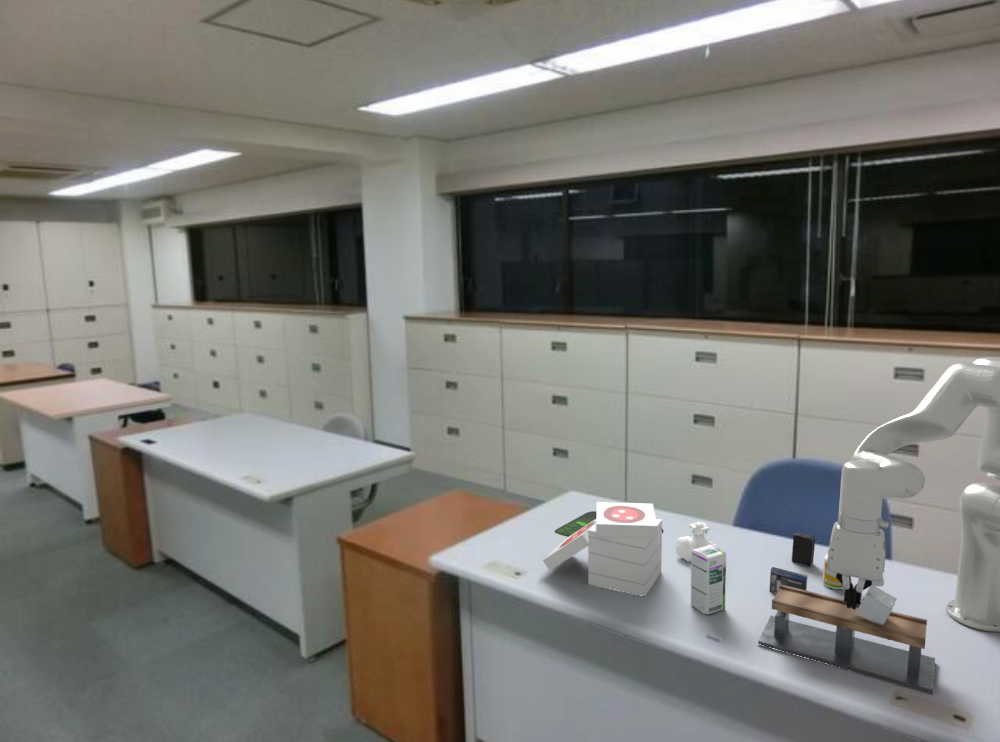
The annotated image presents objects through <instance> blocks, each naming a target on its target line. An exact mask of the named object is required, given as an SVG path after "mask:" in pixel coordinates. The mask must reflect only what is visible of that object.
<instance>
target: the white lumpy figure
mask: <svg viewBox="0 0 1000 742" xmlns="http://www.w3.org/2000/svg"><path fill="white" fill-rule="evenodd" d="M688 527H689V529H691V530H690V532H691V534H692V536H690V535H687V536H682V537H678V538H677V539H676V540H675V553H676V554H677V556H678V557H679V558H681V559H683V560H685V561H686V562H688V563H689V562H690V563H691V550H693V549H697V548H701V547H705V546H707V545H711V546H714V547H716V548H718V549H719V547H718V545H717V544H716V543H714V542H712V541H711V540H708V539H706V536H705V535H708V531H710V529H711V528H710V527H709V526H708V525H707V524H706V523H705V522H702V521H696V522H694V523H689V524H688Z"/></svg>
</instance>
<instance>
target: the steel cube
mask: <svg viewBox="0 0 1000 742" xmlns="http://www.w3.org/2000/svg"><path fill="white" fill-rule="evenodd" d="M896 602H897V597H895V596H893V595H891V594H889V593H887V592H886V591H884V590H882V589H881V588H878V586H870V587H868V590H867V592H866V593H865V595H864V597H863V599H861V603H860V606H859V607H858V609H857V611H856V614H858V615H860V616H861V617H863V618H865V619H866V620H868V621H870V622H871V623H873V624H875V625H878V626H883V624H884V623H885V621H886V619H887V618H888V616H889V614H890V613H891V611H892V612H893V610H894V607H895V605H896Z"/></svg>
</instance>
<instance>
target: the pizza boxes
mask: <svg viewBox="0 0 1000 742" xmlns="http://www.w3.org/2000/svg"><path fill="white" fill-rule="evenodd" d="M596 512H597V516H596V519H595V520H594V521H592V522H591V523H589V524H587V525H586V526H584V527H583V528H581V529H580V530H578V531H577V532H575V533H574V534H572V535H571V536H569V537H567V538H565V539H563V541H562V542H560V543H559V544H558V545H557V546H555V548H554V549H553V550H552V551H551V552H550V553H549V554H548V555H546V556H545V557H544V559H542V561H543V563H544V565H545V566H546V567H547V569H548V571H551V570H552V569H554V568H556V567H557V566H559V565H561V564H562V563H564V562H565V561H567V560H569V559H570V558H572V557H573V556H574V555H576V554H578V553H580V552H581V551H582V550H584V549H586V548H588V551H587V553H588V560H587V561H588V562H587V563H588V565H587V566H588V568H587V570H588V571H587V573H588V574H587V575H588V581H587V582H588V585H589V584H590V585H589V586H593V585H596V586H595V587H598V586H600V587H599V588H602V587H606V588H611V589H616V590H620V591H624V592H629V593H633V594H637V595H642V596H645V595H646V596H647V595H648V593H649V591H650V590H651V588H652V587H653V585H654V584H655V582H656V581H657V579H658V578H659V577H660V575H661V573H662V556H663V555H662V554H663V553H662V550H663V548H662V547H663V546H662V545H663V540H662V539H663V532H662V529H663V519H662V518H656V513H655V512H656V511H655V507H654V503H649V502H648V503H643V502H642V503H641V502H639V503H638V502H612V501H611V502H606V501H603V502H602V501H601V502H600V501H596ZM606 588H605V589H606ZM611 589H610V590H611ZM620 591H619V592H620ZM624 592H623V593H624ZM647 592H648V593H647ZM633 594H632V595H633ZM637 595H636V596H637ZM646 596H645V597H646Z"/></svg>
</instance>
